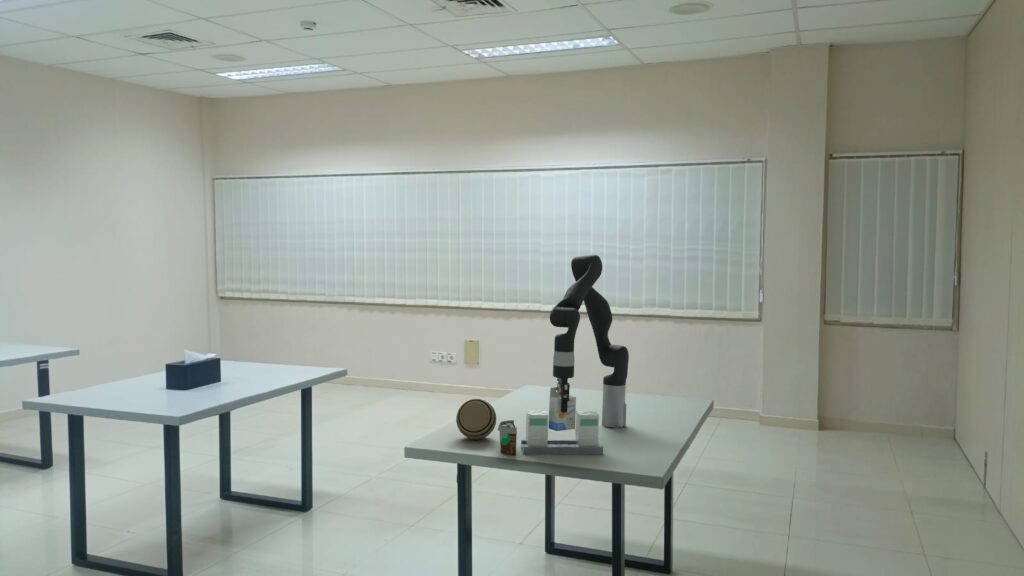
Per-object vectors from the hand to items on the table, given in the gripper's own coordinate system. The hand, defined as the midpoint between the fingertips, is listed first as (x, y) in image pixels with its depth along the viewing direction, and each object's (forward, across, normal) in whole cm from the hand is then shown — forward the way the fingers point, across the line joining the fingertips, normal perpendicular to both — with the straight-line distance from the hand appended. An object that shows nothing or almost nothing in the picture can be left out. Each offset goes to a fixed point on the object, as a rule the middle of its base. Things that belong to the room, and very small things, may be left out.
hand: (562, 409), depth 262 cm
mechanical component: (+15, +16, +30) cm, 37 cm away
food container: (+15, -2, +20) cm, 25 cm away
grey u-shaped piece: (+15, 0, 0) cm, 15 cm away
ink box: (+7, 0, 0) cm, 7 cm away
